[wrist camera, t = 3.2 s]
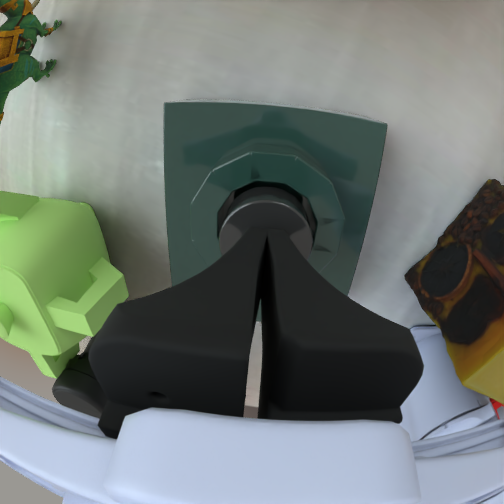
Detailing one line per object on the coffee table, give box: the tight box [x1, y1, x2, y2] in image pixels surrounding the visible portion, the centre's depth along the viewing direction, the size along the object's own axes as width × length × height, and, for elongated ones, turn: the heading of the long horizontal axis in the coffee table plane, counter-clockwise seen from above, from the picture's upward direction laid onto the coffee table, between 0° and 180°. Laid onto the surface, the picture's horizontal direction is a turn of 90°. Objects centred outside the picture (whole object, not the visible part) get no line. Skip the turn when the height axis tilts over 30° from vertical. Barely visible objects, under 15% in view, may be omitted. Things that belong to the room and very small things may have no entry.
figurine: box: [0, 0, 62, 124], centre depth 10 cm, size 3×12×8 cm, turn 168°
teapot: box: [0, 191, 129, 379], centre depth 16 cm, size 12×12×10 cm
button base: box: [164, 99, 387, 322], centre depth 15 cm, size 12×10×6 cm
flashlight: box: [52, 330, 246, 419], centre depth 22 cm, size 15×5×10 cm, turn 78°
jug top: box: [219, 186, 313, 261], centre depth 12 cm, size 4×4×2 cm
